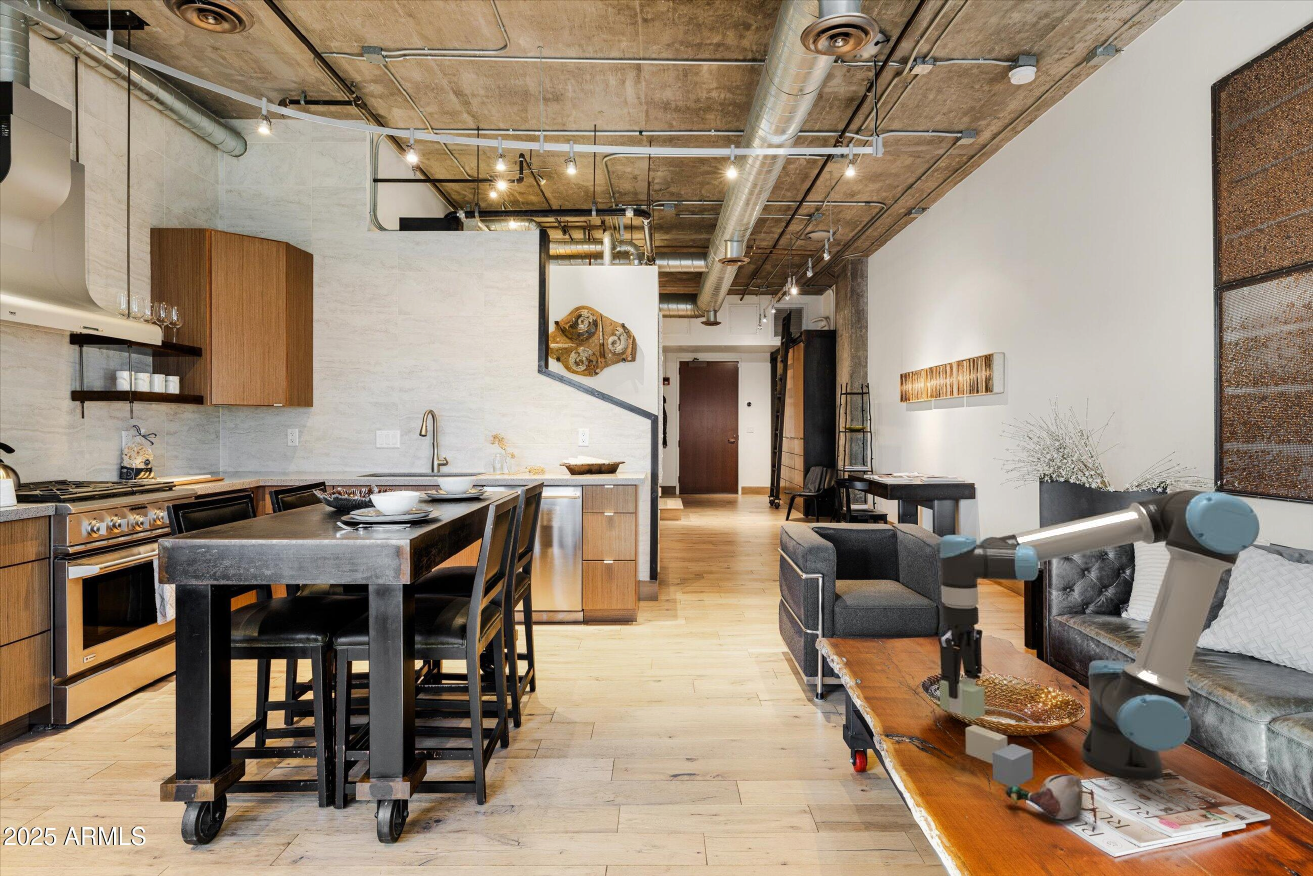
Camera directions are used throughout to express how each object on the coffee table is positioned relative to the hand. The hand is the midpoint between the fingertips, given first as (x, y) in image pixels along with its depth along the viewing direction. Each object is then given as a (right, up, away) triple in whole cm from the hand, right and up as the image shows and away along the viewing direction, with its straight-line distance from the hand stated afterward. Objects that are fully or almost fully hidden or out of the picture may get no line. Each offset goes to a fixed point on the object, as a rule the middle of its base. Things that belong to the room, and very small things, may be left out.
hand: (962, 709), depth 150 cm
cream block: (+9, -14, +6) cm, 18 cm away
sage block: (0, 0, 0) cm, 1 cm away
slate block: (+9, -14, -4) cm, 17 cm away
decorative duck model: (+10, -13, -17) cm, 24 cm away
